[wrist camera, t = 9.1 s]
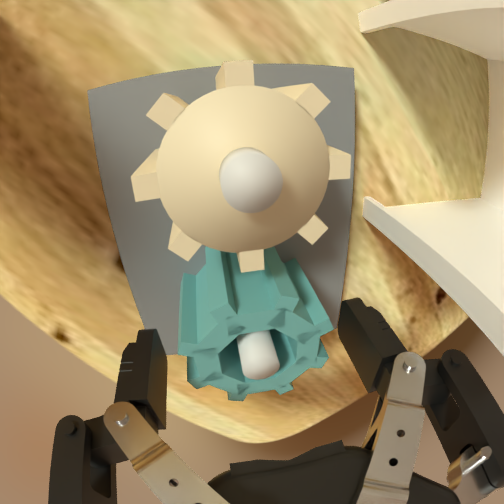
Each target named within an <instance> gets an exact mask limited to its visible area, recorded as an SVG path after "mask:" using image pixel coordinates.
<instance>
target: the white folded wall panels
mask: <svg viewBox="0 0 504 504" xmlns="http://www.w3.org/2000/svg"><path fill="white" fill-rule="evenodd" d="M358 17H359V25H360V32H361V33H371V32H374V31H378V30H382V29H386V28H390V27H397V28H401V29H404V30H408V31H412V32H415V33H419V34H422V35H425V36H429V37H432V38H435V39H438V40H441V41H443V42H446V43H449V44H452V45H454V46H457V47H460V48H462V49H465V50H467V51H469V52H472V53H474V54H477V55H479V56H481V57H483V58H485V59H487V64H488V81H489V122H488V140H487V152H486V162H485V170H484V178H483V184H482V191H481V197H480V198H471V199H460V200H449V201H438V202H428V203H418V204H409V205H399V206H390V207H385V206H383V205H382V204H381V203H379V202H378V201H376V200H375V199H373V198H372V197H370V196H368V197H364V202H363V217H364V218H365V219H366V220H368V221H369V222H370V223H371V224H372V225H374V226H375V227H376V228H377V229H378V230H379V231H381V232H382V233H383V234H384V235H385V236H386V237H388V238H389V239H390V240H391V241H392V242H393V243H394V244H395V245H397V246H398V247H399V248H400V249H401V250H402V251H403V252H404V253H405V254H407V255H408V256H409V257H410V258H411V259H412V260H413V261H414V262H415V263H416V264H417V265H418V266H420V267H421V268H422V269H423V270H424V271H425V272H426V273H427V274H428V275H429V276H430V277H431V278H432V279H433V280H434V281H435V282H436V283H437V284H438V285H439V286H440V287H441V288H442V289H443V290H444V291H445V292H446V293H447V294H448V295H449V296H450V297H451V298H452V299H453V300H454V301H455V302H456V303H457V304H458V305H459V306H460V307H461V308H462V309H463V310H464V312H465V313H466V314H467V315H468V316H469V317H470V318H471V319H472V320H473V321H474V322H475V323H476V324H477V326H478V327H479V328H480V329H481V330H482V331H483V332H484V334H485V335H486V336H487V337H488V338H489V339H490V340H491V341H492V343H493V344H494V345H495V346H496V347H497V349H498V350H499V351H500V352H501V353H502V355H503V356H504V0H390V1H387V2H385V3H382V4H379V5H377V6H374V7H371V8H369V9H366V10H364V11H362V12H359V13H358Z"/></svg>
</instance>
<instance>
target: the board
mask: <svg viewBox="0 0 504 504" xmlns="http://www.w3.org/2000/svg"><path fill="white" fill-rule="evenodd" d="M88 100H89V109H90V117H91V124H92V131H93V138H94V144H95V150H96V156H97V161H98V167H99V172H100V177H101V181H102V186H103V191H104V195H105V200H106V204H107V208H108V212H109V216H110V220H111V224H112V228H113V232H114V235H115V239H116V243H117V246H118V250H119V253H120V256H121V260H122V263H123V266H124V270H125V273H126V276H127V279H128V282H129V285H130V288H131V291H132V294H133V297H134V300H135V303H136V306H137V308H138V311H139V314H140V317H141V319H142V322H143V325H144V327H145V329H157V331H158V334H159V336H160V339H161V342H162V345H163V347H164V350H165V353H166V355H173V354H178V328H179V305H180V287H181V281H182V277H183V273H187V274H192V275H197V273H198V272H199V271H200V270H201V269H202V268H203V266H204V265H205V264H206V254H205V247H206V246H207V247H209V248H212V249H216V250H219V251H225V252H231V253H236V254H237V258H238V262H239V266H240V270H241V273H243V272H250V271H257V270H264V249H267V248H270V247H273V246H274V247H275V249H276V251H277V253H278V255H279V257H280V259H281V261H282V262H283V263H286V262H288V261H290V260H292V259H293V258H296V260H297V262H298V263H299V265H300V267H301V269H302V270H303V272H304V274H305V276H306V277H307V279H308V281H309V283H310V285H311V286H312V288H313V290H314V292H315V293H316V295H317V297H318V299H319V301H320V302H321V304H322V306H323V308H324V310H325V312H326V313H327V315H328V317H329V319H330V321H331V324H332V326H333V328H334V329H336V328H337V323H338V317H339V310H340V304H341V297H342V290H343V283H344V276H345V268H346V259H347V251H348V241H349V231H350V220H351V207H352V193H353V175H354V150H355V86H354V68H347V67H337V66H325V65H308V64H253V60H240V61H224V62H223V64H222V66H214V67H204V68H195V69H187V70H180V71H173V72H167V73H161V74H155V75H150V76H145V77H140V78H135V79H130V80H126V81H122V82H117V83H113V84H109V85H106V86H102V87H98V88H95V89H91V90H88ZM236 338H237V344H238V349H239V355H240V360H241V365H242V371H243V374H244V375H245V376H246V377H247V378H249V379H254V380H260V379H265V378H268V377H270V376H272V375H274V374H275V373H276V372H277V371H278V370H279V367H280V364H279V360H278V357H277V354H276V351H275V347H274V344H273V341H272V338H271V334H270V331H269V330H264V331H257V332H251V333H245V334H239V335H238V336H237V337H236Z"/></svg>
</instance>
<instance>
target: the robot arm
mask: <svg viewBox="0 0 504 504" xmlns="http://www.w3.org/2000/svg"><path fill="white" fill-rule="evenodd" d="M338 334H339V338H340V340H341V342H342V344H343V345H344V347H345V349H346V351H347V353H348V355H349V357H350V359H351V361H352V363H353V364H354V366H355V368H356V370H357V372H358V374H359V376H360V378H361V380H362V382H363V384H364V386H365V388H366V390H367V392H368V393H370V392H373V391H376V390H377V392H378V393H379V396H378V399H377V402H376V406H375V410H374V413H373V416H372V420H371V423H370V426H369V429H368V432H367V435H366V437H365V439H364V441H363V444H362V446H361V447H357V446H344V445H343V442H342V440H340V441H337V442H333V443H330V444H326V445H323V446H319V447H316V448H313V449H312V450H310V451H308V452H306V453H304V454H302V455H300V456H298V457H295V458H293V459H291V460H286V461H285V460H284V461H282V460H280V461H279V460H253V461H246V462H239V463H231V464H230V469H231V470H228V471H225V472H223V473H221V474H219V475H218V476H216V477H214V478H213V479H212V480H211V481H209V482H208V483H206V482H204V481H203V480H202V479H201V478H200V477H199V476H198V475H197V474H196V473H195V472H194V471H193V470H192V469H191V468H190V467H189V466H188V465H187V464H186V463H185V462H184V461H183V460H182V459H181V458H180V457H179V456H178V455H177V454H176V453H175V452H174V451H173V450H172V449H171V448H170V447H169V446H168V445H167V444H166V443H165V442H164V441H163V440H162V439H161V438H160V437H159V435H158V430H159V429H166V396H167V357H166V353H165V350H164V347H163V345H162V342H161V339H160V336H159V334H158V331H157V329H145V330H139V331H138V335H137V340H136V342H135V343H129V344H128V345H127V347H126V348H125V350H124V351H123V354H122V359H121V364H120V372H119V376H118V381H117V387H116V394H115V400H114V404H112V405H111V406H109V407H108V408H107V410H106V411H105V413H104V415H102V416H100V417H97V418H93V419H90V420H86V421H83V420H82V419H81V418H80V417H78V416H75V415H69V416H66V417H64V418H62V419H61V420H60V421H59V423H58V424H57V426H56V431H55V437H54V444H53V451H52V460H51V469H50V482H49V501H48V504H117V488H116V463H120V462H123V461H127V460H130V461H131V463H132V464H133V468H134V469H135V471H136V472H137V473H138V475H139V476H140V477H141V478H142V480H143V481H144V482H145V483H146V484H147V486H148V487H149V488H150V489H151V490H152V492H153V493H154V494H155V495H156V496H157V497H158V498H159V499H160V501H161V502H162V503H163V504H476V503H477V502H479V501H480V500H481V499H483V498H485V497H487V496H489V495H491V494H492V493H494V492H496V491H498V490H499V489H501V488H503V487H504V414H503V412H502V411H501V409H500V407H499V405H498V404H497V402H496V400H495V399H494V397H493V396H492V394H491V393H490V391H489V389H488V388H487V386H486V385H485V383H484V382H483V380H482V379H481V377H480V375H479V374H478V372H477V371H476V369H475V368H474V367H473V365H472V364H471V362H470V361H469V359H468V358H467V357H466V355H465V354H464V353H462V352H461V351H458V350H454V349H452V350H447V351H446V352H444V354H443V355H442V357H441V359H429V360H423V358H422V357H421V356H420V355H418V354H416V353H413V352H408V351H407V350H406V349H405V347H404V346H403V344H402V343H401V341H400V340H399V338H398V337H397V336H396V334H395V333H394V331H393V330H392V329H391V328H390V326H389V324H388V323H387V322H386V320H385V319H384V317H383V316H382V315H381V313H380V312H378V311H377V310H376V309H374V308H373V307H371V306H370V307H366V306H365V304H364V303H363V302H362V300H361V299H360V298H353V299H349V300H344V301H342V303H341V309H340V315H339V321H338ZM451 394H452V395H451ZM452 396H453V397H452ZM455 401H456V402H455ZM456 403H457V404H456ZM425 411H426V413H427V415H428V417H429V419H430V421H431V423H432V425H433V427H434V429H435V431H436V434H437V436H438V438H439V440H440V442H441V444H442V446H443V449H444V451H445V453H446V455H447V457H448V460H449V462H450V465H449V467H448V471H447V482H448V483H449V485H448V487H446V486H444V485H441V484H439V483H437V482H434V481H432V480H430V479H428V478H425V477H423V476H421V475H419V474H417V473H415V472H413V468H414V464H415V460H416V456H417V451H418V447H419V442H420V437H421V432H422V426H423V420H424V414H425Z"/></svg>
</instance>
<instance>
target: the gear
mask: <svg viewBox="0 0 504 504" xmlns="http://www.w3.org/2000/svg"><path fill="white" fill-rule="evenodd" d="M205 254H206V264H205V265H204V266H203V268H202V269H201V270H200V271H199V272H198V273H197V275H192V274H187V273H183V277H182V281H181V287H180V305H179V328H178V355H183V356H187V381H188V382H189V383H190V384H191V385H193V386H194V387H195V388H196V389H199V388H202V387H204V386H207V385H211V386H214V387H216V388H219V389H222V390H225V391H227V393H228V400H232V401H244V399H245V397H246V396H247V394H252V393H258V392H264V391H269V390H276V391H277V392H278V393H279V395H281V394H283V393H286V392H288V391H290V390H293V389H294V388H293V385H292V381H293V380H294V379H296V378H297V377H298V376H300V375H301V374H302V373H304V372H305V371H306V370H307V369H309V368H322V367H323V365H324V364H325V362H326V361H327V359H328V358H329V357H328V354H327V352H326V350H325V348H324V346H323V344H322V342H321V339H320V336H322V335H324V334H326V333H328V332H330V331H332V330H334V328H333V326H332V324H331V321H330V319H329V317H328V315H327V313H326V312H325V310H324V308H323V306H322V304H321V302H320V301H319V299H318V297H317V295H316V293H315V292H314V290H313V288H312V286H311V285H310V283H309V281H308V279H307V277H306V276H305V274H304V272H303V270H302V269H301V267H300V265H299V263H298V262H297V260H296V258H293V259H292V260H290V261H288V262H286V263H283V262H282V261H281V259H280V257H279V255H278V253H277V251H276V249H275V247H274V246H273V247H270V248H267V249H264V270H257V271H250V272H243V273H241V270H240V266H239V262H238V258H237V254H236V253H231V252H225V251H219V250H216V249H212V248H209V247H207V246H206V247H205ZM264 330H269V331H270V334H271V338H272V341H273V344H274V347H275V351H276V354H277V357H278V360H279V364H280V367H279V370H278V371H277V372H276V373H275V374H274V375H272V376H270V377H268V378H265V379H260V380H254V379H249V378H247V377H246V376H245V375H244V374H243V371H242V365H241V360H240V355H239V349H238V344H237V338H236V337H237V336H238V335H239V334H245V333H251V332H257V331H264Z"/></svg>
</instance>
